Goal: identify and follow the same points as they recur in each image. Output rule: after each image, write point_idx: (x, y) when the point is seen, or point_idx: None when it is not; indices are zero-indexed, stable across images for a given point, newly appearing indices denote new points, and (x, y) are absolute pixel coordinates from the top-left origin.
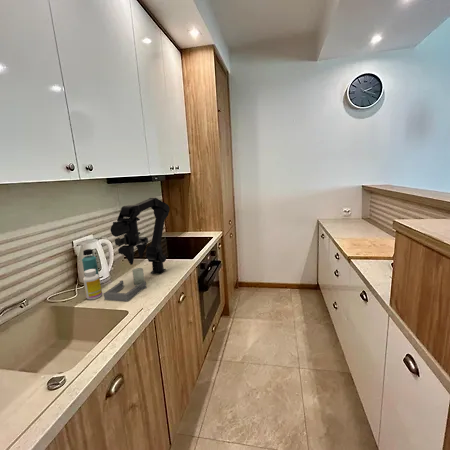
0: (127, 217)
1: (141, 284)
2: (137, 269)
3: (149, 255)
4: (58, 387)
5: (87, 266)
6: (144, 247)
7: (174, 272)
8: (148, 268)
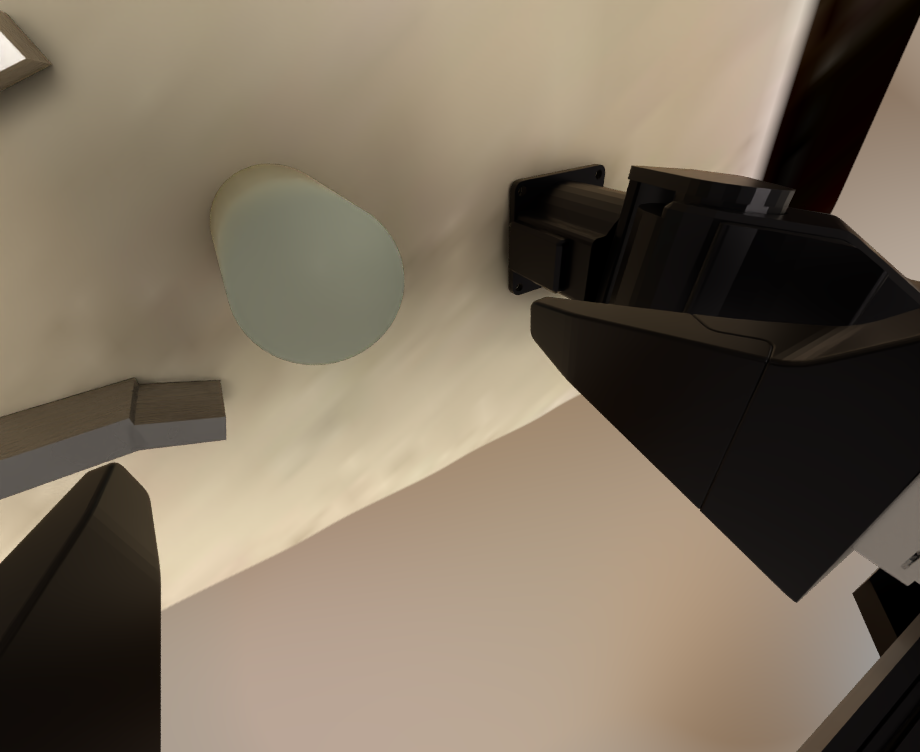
0: None
1: (151, 444)
2: (335, 274)
3: (666, 284)
4: None
5: None
6: (726, 534)
7: (540, 362)
8: (623, 44)
